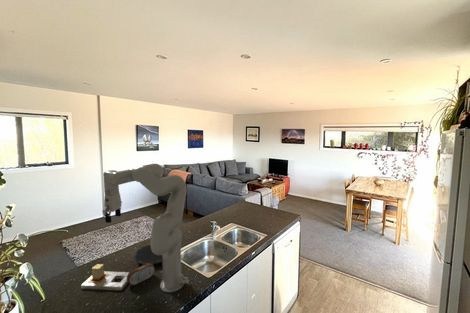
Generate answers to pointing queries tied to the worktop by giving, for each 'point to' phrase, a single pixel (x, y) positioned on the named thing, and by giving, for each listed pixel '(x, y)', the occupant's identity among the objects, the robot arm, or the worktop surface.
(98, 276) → the brass peg
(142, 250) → the bowl
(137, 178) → the robot arm
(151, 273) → the tin
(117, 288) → the rail plate
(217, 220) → the worktop surface
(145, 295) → the worktop surface
